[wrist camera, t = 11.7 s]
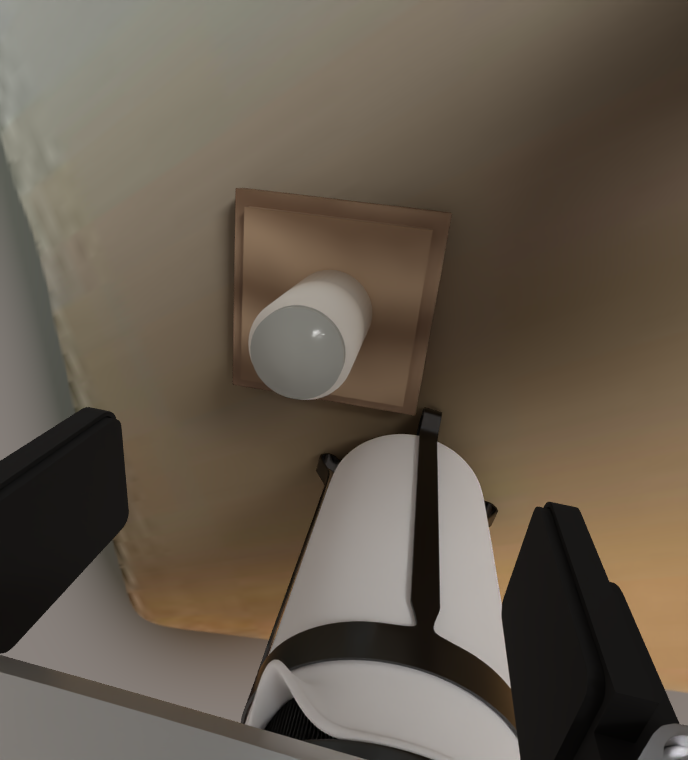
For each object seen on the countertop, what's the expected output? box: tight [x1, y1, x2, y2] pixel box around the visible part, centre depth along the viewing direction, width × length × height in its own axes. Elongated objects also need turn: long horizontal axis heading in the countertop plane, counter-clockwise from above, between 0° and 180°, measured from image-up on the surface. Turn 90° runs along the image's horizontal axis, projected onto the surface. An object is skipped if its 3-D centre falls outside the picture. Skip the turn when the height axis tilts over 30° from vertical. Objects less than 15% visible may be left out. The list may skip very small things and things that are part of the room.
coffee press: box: [241, 407, 520, 760], centre depth 26 cm, size 17×16×30 cm
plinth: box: [233, 188, 452, 415], centre depth 33 cm, size 14×14×3 cm
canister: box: [248, 270, 372, 400], centre depth 28 cm, size 6×6×9 cm
